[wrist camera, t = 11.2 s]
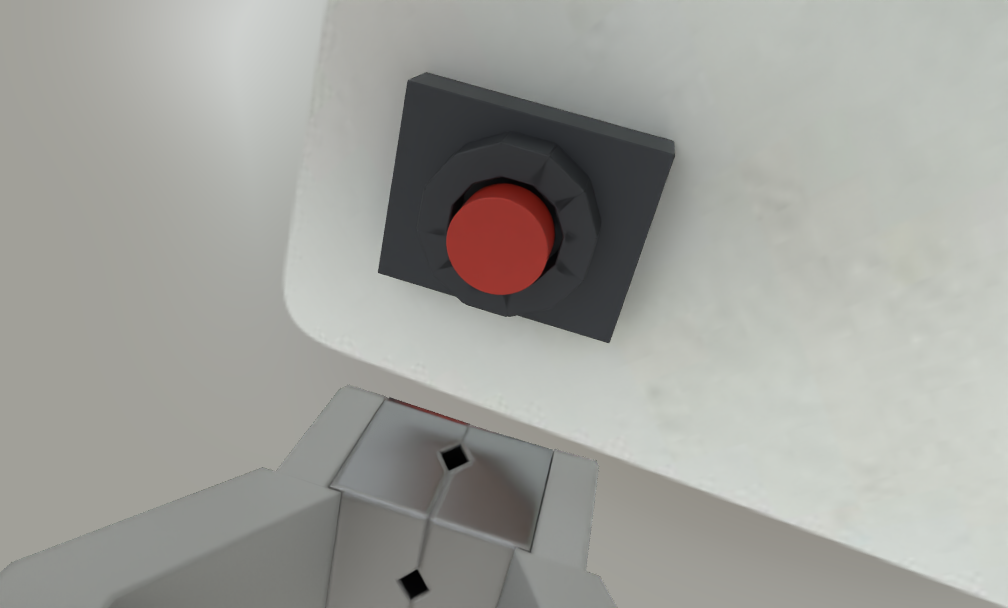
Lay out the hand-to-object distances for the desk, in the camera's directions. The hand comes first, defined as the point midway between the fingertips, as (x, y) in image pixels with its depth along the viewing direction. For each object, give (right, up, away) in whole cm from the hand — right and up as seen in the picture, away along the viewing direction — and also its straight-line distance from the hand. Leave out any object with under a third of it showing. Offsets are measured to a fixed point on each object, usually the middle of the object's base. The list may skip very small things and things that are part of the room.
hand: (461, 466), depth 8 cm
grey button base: (+1, +6, +21) cm, 22 cm away
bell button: (+1, +5, +18) cm, 18 cm away
